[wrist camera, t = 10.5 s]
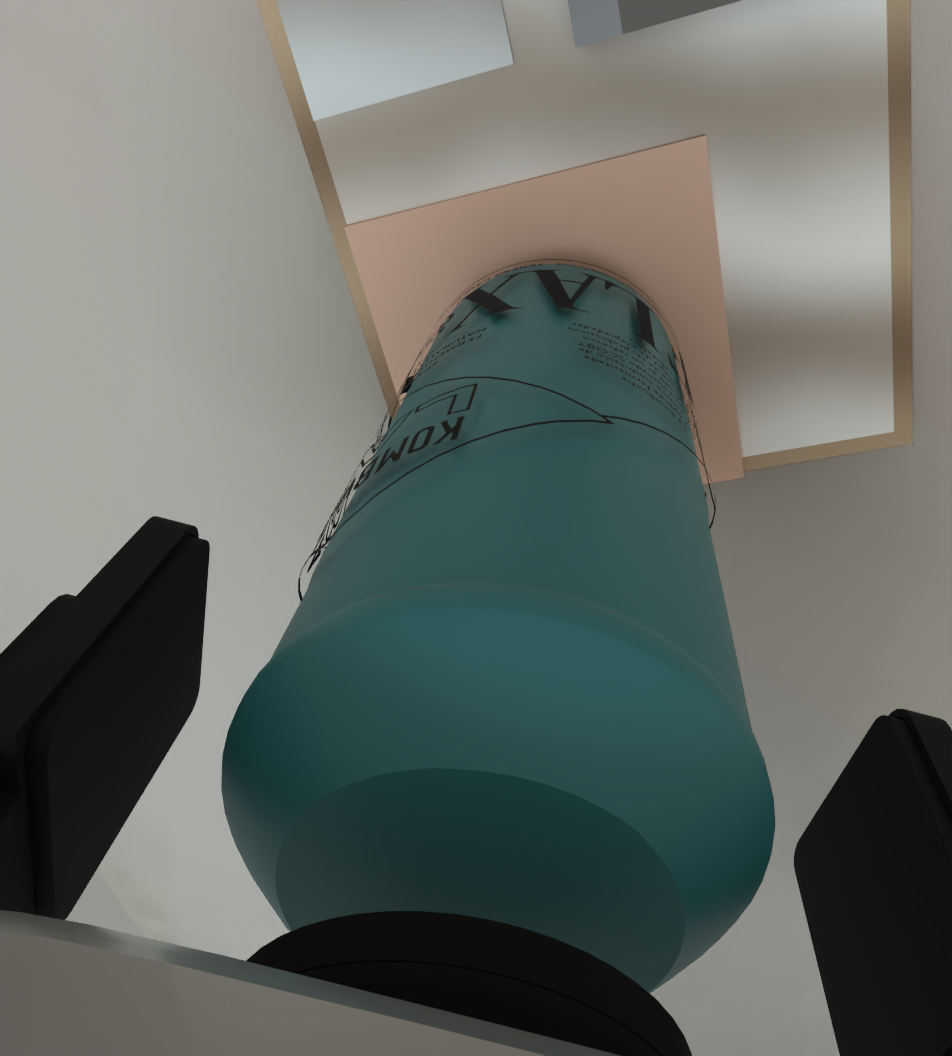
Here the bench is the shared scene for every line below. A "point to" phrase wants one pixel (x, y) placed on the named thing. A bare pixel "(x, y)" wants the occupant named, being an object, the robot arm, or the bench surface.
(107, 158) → the bench surface
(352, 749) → the beverage bottle
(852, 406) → the wooden tray
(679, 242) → the terracotta square
